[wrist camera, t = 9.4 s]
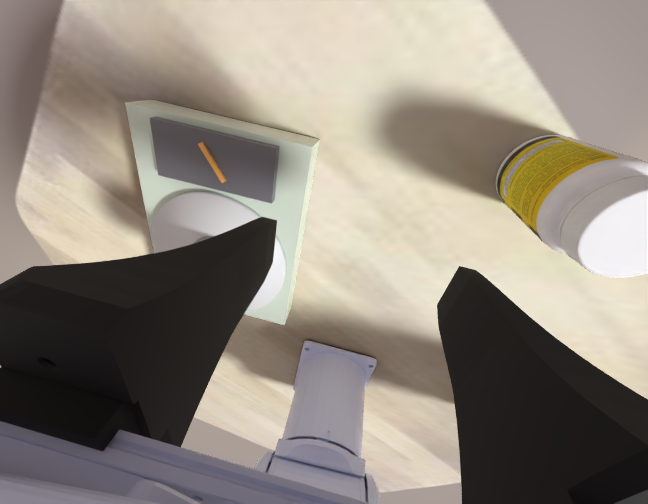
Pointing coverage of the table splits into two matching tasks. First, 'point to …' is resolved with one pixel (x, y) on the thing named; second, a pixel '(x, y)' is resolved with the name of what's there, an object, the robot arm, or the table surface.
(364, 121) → the table surface
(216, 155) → the scale
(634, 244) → the supplement bottle
